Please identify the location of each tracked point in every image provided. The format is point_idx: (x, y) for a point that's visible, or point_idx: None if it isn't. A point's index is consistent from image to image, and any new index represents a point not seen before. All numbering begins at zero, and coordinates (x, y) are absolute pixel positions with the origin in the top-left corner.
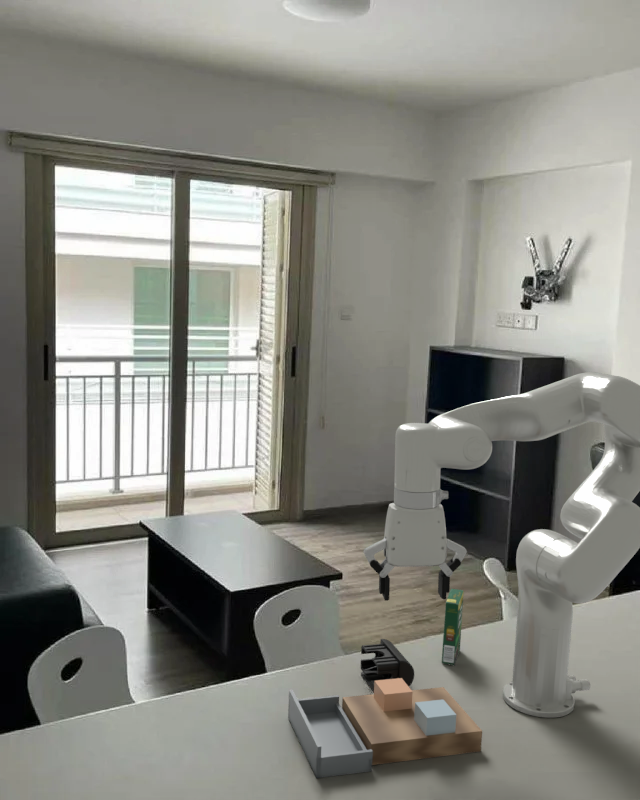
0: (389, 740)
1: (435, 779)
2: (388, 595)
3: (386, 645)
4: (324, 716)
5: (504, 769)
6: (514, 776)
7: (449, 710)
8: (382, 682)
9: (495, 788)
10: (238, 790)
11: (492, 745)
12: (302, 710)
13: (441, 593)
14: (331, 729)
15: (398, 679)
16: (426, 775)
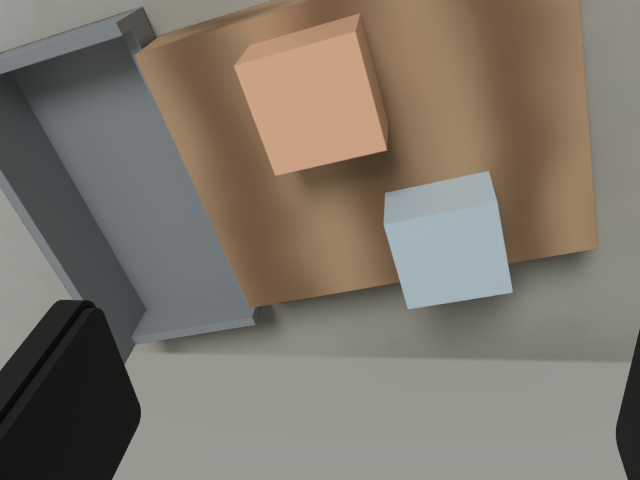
0: (298, 294)
1: (415, 318)
2: (119, 449)
3: None
4: (104, 61)
5: (611, 285)
6: (624, 309)
7: (496, 270)
8: (267, 81)
9: (551, 346)
10: (6, 342)
11: (633, 181)
12: (26, 215)
13: (632, 459)
14: (141, 135)
15: (339, 46)
16: (396, 305)
